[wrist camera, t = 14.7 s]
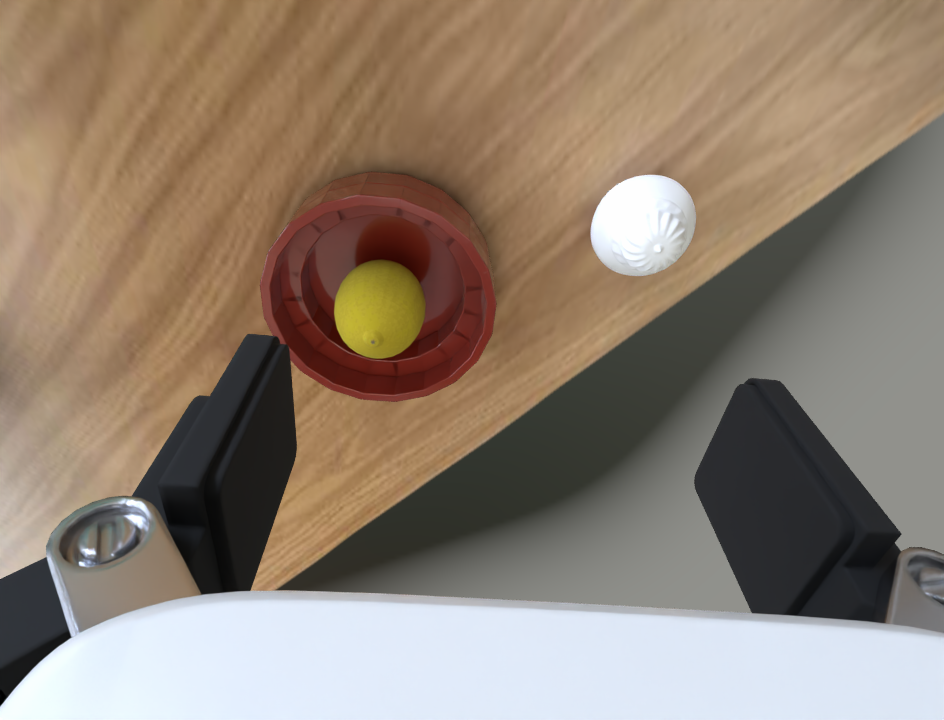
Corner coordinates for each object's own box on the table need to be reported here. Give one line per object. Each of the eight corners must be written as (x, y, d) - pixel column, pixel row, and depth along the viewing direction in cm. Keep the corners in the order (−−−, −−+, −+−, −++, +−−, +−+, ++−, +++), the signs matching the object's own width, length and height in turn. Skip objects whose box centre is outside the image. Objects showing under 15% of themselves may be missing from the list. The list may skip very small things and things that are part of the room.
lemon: (418, 322, 40) (410, 390, 34) (340, 304, 39) (316, 370, 33) (437, 252, 37) (432, 312, 31) (353, 231, 36) (330, 287, 30)
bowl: (417, 124, 33) (411, 145, 29) (527, 306, 40) (534, 344, 36) (237, 240, 37) (209, 273, 33) (366, 388, 44) (356, 430, 40)
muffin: (694, 210, 37) (738, 254, 31) (615, 269, 39) (643, 320, 33) (642, 136, 34) (679, 169, 28) (561, 204, 36) (580, 248, 30)
